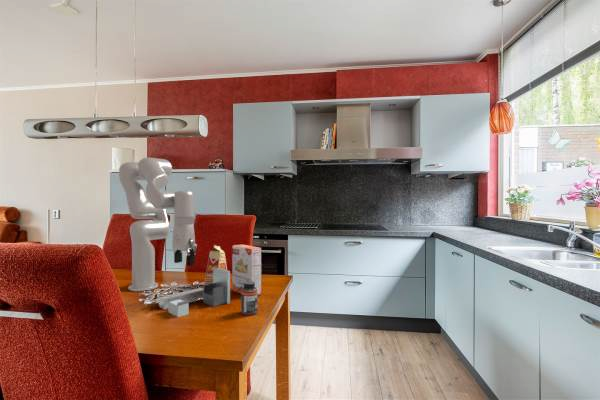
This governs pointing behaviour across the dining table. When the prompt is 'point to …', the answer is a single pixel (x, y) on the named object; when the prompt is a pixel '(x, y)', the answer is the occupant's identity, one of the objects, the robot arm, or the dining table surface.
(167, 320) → the dining table surface
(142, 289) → the robot arm
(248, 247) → the cracker box
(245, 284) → the supplement bottle
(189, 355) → the dining table surface
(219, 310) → the dining table surface
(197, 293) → the rail
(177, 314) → the block
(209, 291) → the cup bracket
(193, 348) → the dining table surface
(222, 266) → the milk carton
